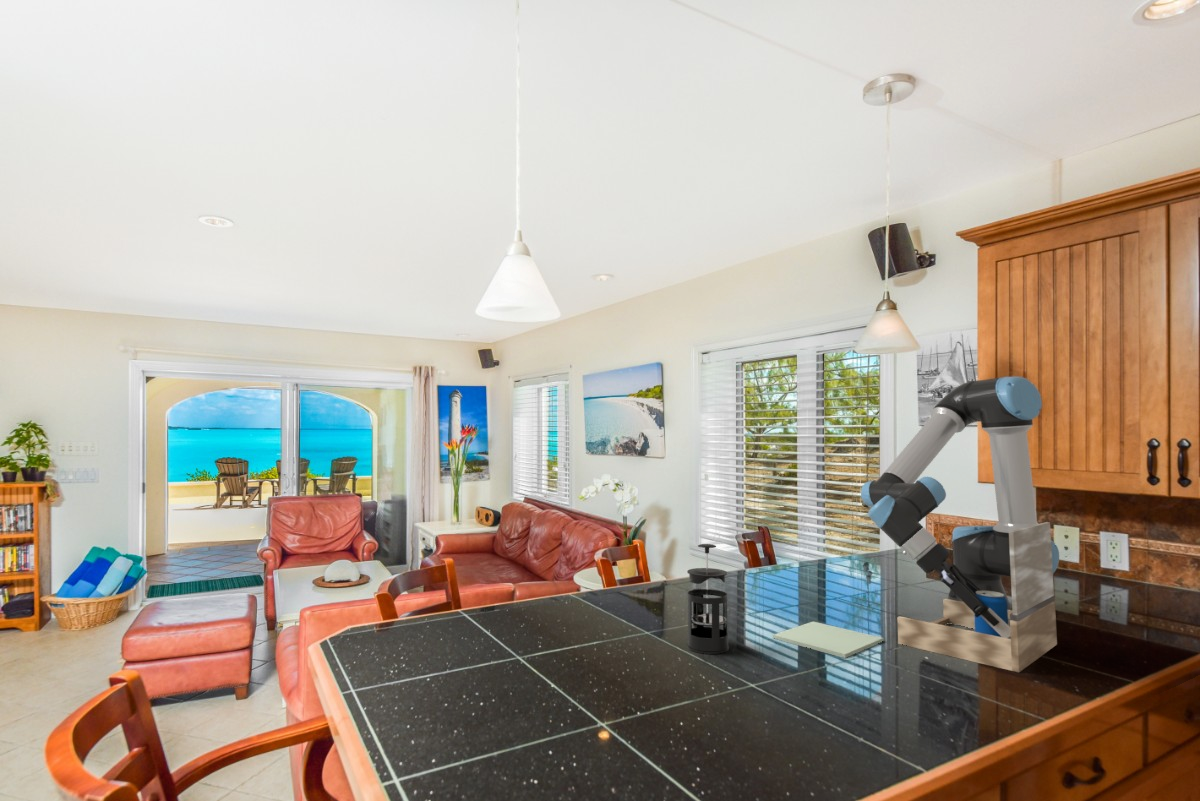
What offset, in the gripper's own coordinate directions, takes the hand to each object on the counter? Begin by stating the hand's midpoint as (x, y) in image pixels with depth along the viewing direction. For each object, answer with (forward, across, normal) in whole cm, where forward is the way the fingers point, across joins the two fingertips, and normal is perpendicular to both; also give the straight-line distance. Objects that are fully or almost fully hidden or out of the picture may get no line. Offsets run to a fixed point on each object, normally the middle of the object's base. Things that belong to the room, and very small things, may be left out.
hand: (1010, 631), depth 139 cm
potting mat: (-23, +16, -28) cm, 40 cm away
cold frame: (-2, -1, -7) cm, 8 cm away
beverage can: (0, 0, -6) cm, 6 cm away
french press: (-37, +38, -43) cm, 68 cm away
